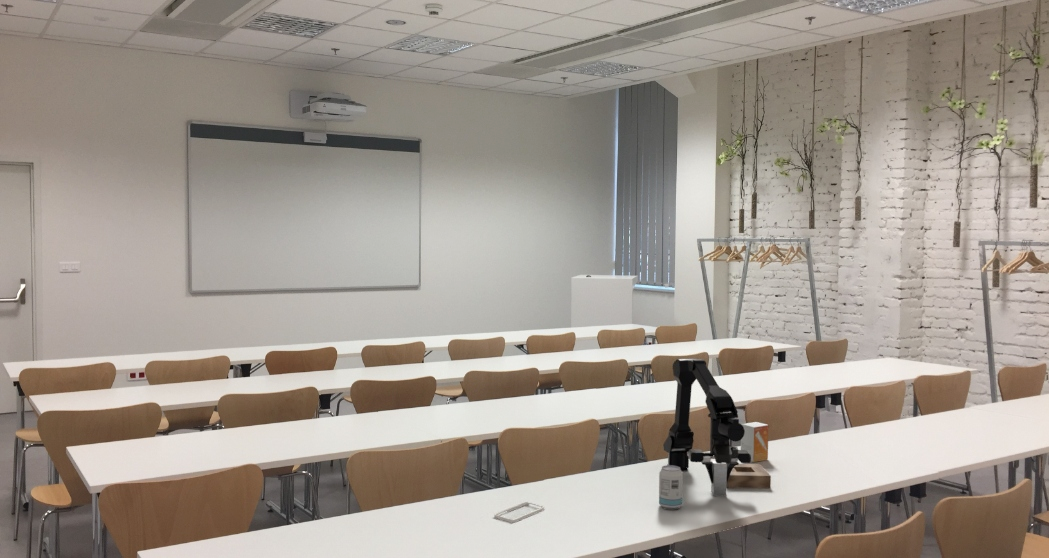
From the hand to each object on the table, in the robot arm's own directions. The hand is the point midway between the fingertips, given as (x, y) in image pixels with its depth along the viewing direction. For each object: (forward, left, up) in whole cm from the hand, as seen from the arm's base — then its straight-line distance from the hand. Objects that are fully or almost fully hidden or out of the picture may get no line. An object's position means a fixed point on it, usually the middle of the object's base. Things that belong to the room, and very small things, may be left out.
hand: (718, 482), depth 257 cm
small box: (+21, +42, -4) cm, 47 cm away
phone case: (-62, -22, -4) cm, 66 cm away
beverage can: (-17, -14, -4) cm, 22 cm away
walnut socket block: (+11, +14, -4) cm, 18 cm away
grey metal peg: (0, 0, -4) cm, 4 cm away
